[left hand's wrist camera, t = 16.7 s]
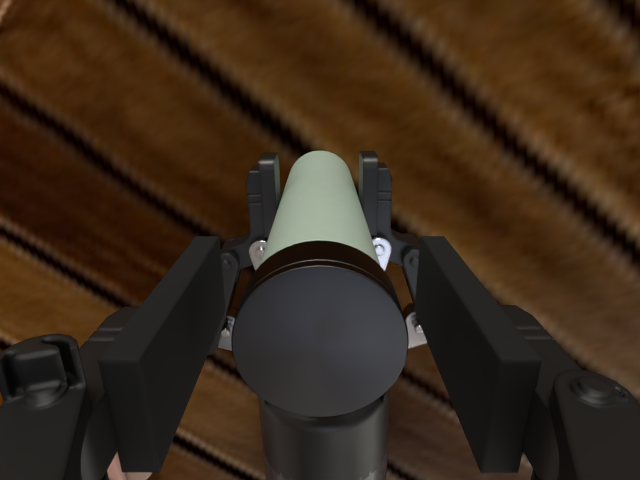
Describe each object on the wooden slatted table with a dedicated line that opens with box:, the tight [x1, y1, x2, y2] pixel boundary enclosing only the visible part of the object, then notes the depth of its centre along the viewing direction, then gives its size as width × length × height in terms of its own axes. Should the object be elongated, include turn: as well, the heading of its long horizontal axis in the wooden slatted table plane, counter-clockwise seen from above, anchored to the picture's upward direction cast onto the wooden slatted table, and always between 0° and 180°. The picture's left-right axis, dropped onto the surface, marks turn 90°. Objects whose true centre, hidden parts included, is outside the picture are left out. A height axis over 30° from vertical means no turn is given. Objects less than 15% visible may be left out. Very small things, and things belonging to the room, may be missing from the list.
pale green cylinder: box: [259, 151, 381, 266], centre depth 19 cm, size 4×4×17 cm
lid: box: [231, 240, 409, 417], centre depth 11 cm, size 4×4×2 cm
